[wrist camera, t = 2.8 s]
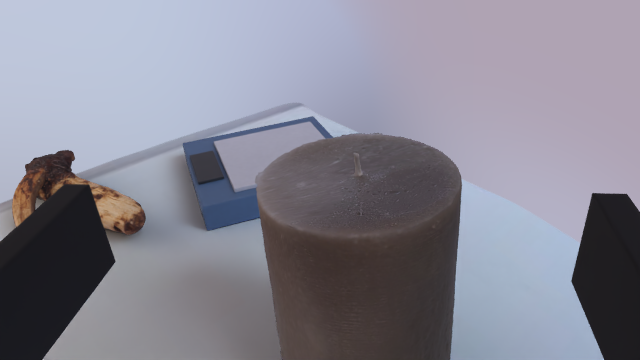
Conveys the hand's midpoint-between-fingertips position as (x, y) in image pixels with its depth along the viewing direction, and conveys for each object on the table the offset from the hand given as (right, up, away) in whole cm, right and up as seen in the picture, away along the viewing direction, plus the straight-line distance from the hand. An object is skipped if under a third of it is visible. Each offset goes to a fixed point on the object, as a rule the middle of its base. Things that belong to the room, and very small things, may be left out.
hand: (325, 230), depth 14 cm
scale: (-5, +2, +39) cm, 39 cm away
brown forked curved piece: (-23, -3, +34) cm, 41 cm away
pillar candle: (+3, -10, +17) cm, 20 cm away
